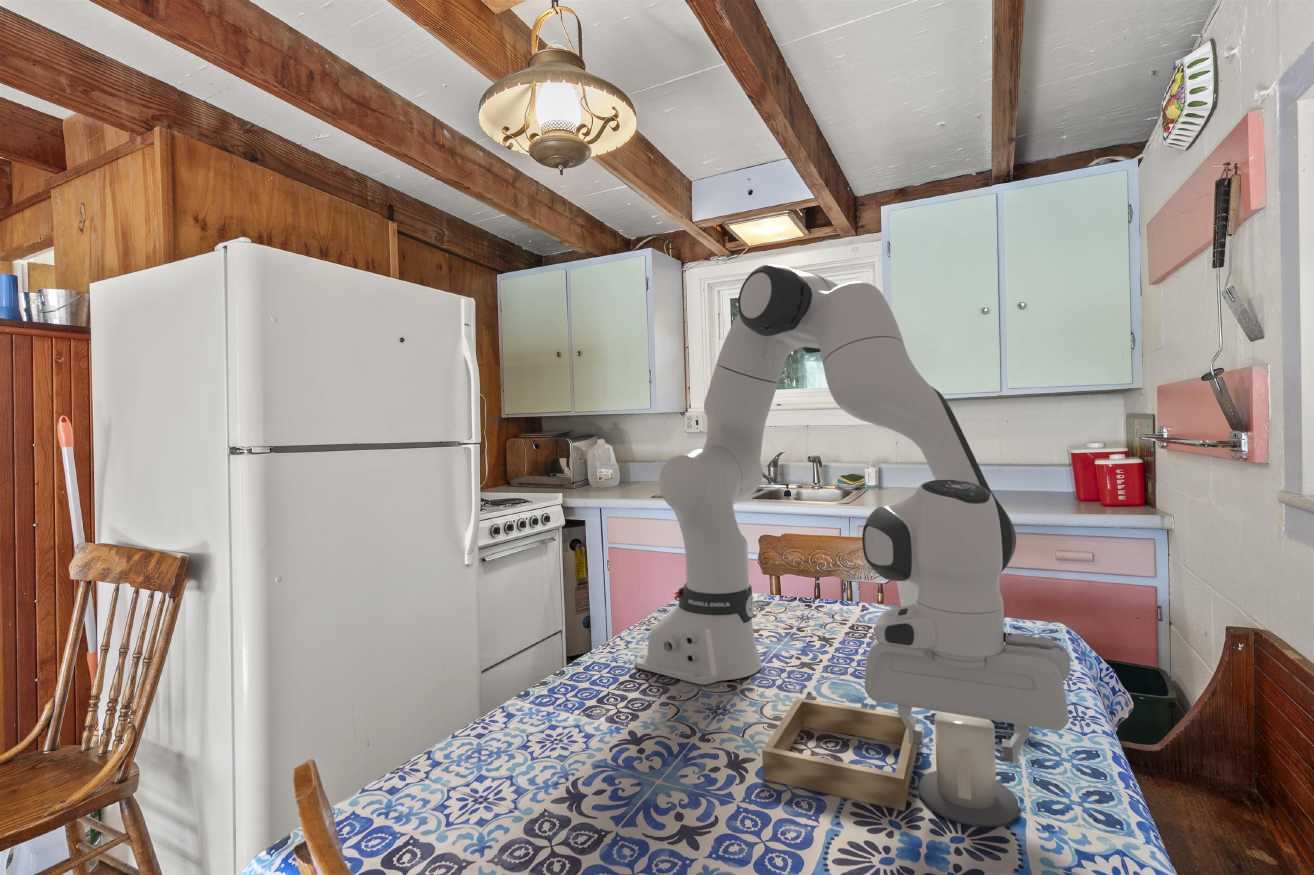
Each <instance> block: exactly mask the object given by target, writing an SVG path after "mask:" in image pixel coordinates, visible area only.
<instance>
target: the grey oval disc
mask: <svg viewBox="0 0 1314 875" xmlns="http://www.w3.org/2000/svg"><path fill="white" fill-rule="evenodd" d="M918 794H919V797H920V800H921V802H923V804H924V805H925V806H927V808H929V809H930V810H931V812H934V813H935V814H937V815H939V816H941V817H943V818H945V819H947V820H949V821H952V822H955V823H958V824H961V825H966V826H970V827H978V828H995V827H1001V826H1005V825H1008V824H1010V823H1012V822H1014V820H1016V819H1017V817H1018V815H1019V802H1018V799H1017V796H1016V795H1015V794H1014V793H1013V791H1012V790H1011V789H1009V788H1008V787H1007V786H1006V785H1005V784H1003V783H1001V782H999V781H997V780H996V794H997V800H996V803H995V804H994V805H992V806H991V807H988V808H982V809H973V808H966V807H962V806H959V805H956V804H954V803H951V802H949V801H948V800H946V799H945V798H943V797H942V796H941V795H940V794H939V792H938V790H937V770H933V771H931V772H930V771H929V773H926V774H925V775H923V776H922V777H921V778H920V779H919V782H918Z"/></svg>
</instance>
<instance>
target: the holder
mask: <svg viewBox="0 0 1314 875" xmlns="http://www.w3.org/2000/svg"><path fill="white" fill-rule="evenodd" d="M912 717H913V719H914V720H915V722H916V724H919V723H918V722H919V721H918V716H914V715H912ZM803 727H806V728H811V729H816V730H817V729H818V730H820V731H821V730H822V731H828V732H833V733H838V734H844V735H851V736H856V737H861V738H865V739H871V740H872V739H873V740H878V741H883V742H888V743H889V742H890V743H895V744H900V745H901V748H900V751H899V756H898V759H897V763H896V764H897V765H896V767H895V771H894V772H893V771H889V770H885V769H877V768H873V767H868V766H864V765H860V764H859V765H858V764H854V763H848V762H844V761H838V760H834V759H828V758H824V757H819V756H814V755H809V754H804V753H798V752H794V751H790V749H791V748H792V746H793V744H794V743H795V741H796V739H797V738H798V736H799V734H800V732H801V730H802V729H803ZM918 747H919V745H917V744H911V743H909V731H908V729H907V727H906V726H905V724H904V723H903V721H902V719H901V718H900V716H899V714H898V713H895V712H891V711H890V712H889V711H883V710H875V709H870V708H865V707H857V706H851V705H845V704H839V703H833V702H826V701H821V700H820V701H819V700H814V699H808V698H801V697H796V698H795V700H794V702H793V703H792V705H791V706H790V707H789V709H788V710H787V712H786V713H785V715H784V716H783V718H782V720H781V721H779V724H778V726H777V727H776V729H775V730H774V732H773V733H772V735H771V736H770V738H769V739H768V741H767V742H766V744H765V746H764V747H763V748H762V750H761V754H762V755H761V756H762V757H761V758H762V759H761V760H762V762H761V763H762V780H765V781H770V782H775V783H779V784H784V785H788V786H792V787H796V788H800V789H801V788H802V789H806V790H810V791H814V792H819V793H823V794H827V795H832V796H836V797H840V798H841V797H842V798H846V799H850V800H854V801H859V802H864V803H869V804H873V805H876V806H879V807H886V808H890V809H894V810H899V811H903V812H905V811H906V807H907V801H908V796H909V791H910V788H911V781H912V776H913V772H914V768H915V763H916V762H915V761H916V757H917V751H918Z"/></svg>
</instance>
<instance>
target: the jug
mask: <svg viewBox="0 0 1314 875" xmlns="http://www.w3.org/2000/svg"><path fill="white" fill-rule="evenodd" d="M934 731H935V732H934V733H935V761H936V762H935V764H936V766H935V768H936V771H937V790H938V792H939V794H940V795H941V796H942V797H943V798H945V799H946V800H948V801H949V802H951V803H954V804H956V805H959V806H962V807H966V808H973V809H982V808H988V807H991V806H992V805H994V804H995V803H996V800H997V794H996V781H997V769H996V767H997V766H996V763H997V762H996V740H995V739H996V737H995V736H996V732H995V724H994V723H993V720H988V719H982V718H976V717H970V716H964V715H958V714H952V713H946V712H939V711H938V713H935V716H934Z"/></svg>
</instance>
